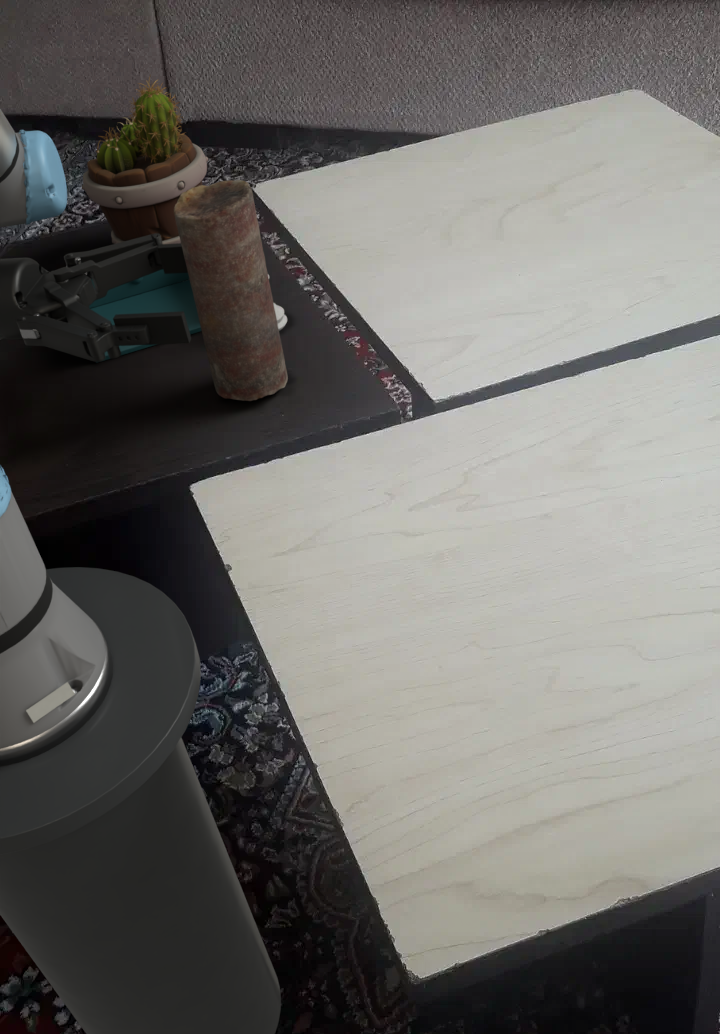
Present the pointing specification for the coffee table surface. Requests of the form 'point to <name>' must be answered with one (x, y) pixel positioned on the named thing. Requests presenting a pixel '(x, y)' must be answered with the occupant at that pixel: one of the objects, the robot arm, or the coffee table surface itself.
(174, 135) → the flowerpot
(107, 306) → the teal tray
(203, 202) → the rusty brown cylinder
